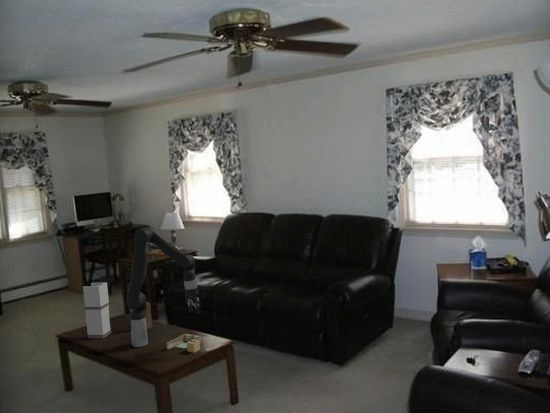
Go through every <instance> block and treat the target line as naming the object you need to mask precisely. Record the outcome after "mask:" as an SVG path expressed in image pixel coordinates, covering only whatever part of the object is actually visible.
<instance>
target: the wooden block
mask: <svg viewBox="0 0 550 413" xmlns="http://www.w3.org/2000/svg"><path fill="white" fill-rule="evenodd" d="M151 309H152V308H151V303H150V302H149V301H146V326H147V330H150V329H152V328H153V322H152V321H153V320H152V312H151V311H152V310H151Z"/></svg>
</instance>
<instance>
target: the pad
mask: <svg viewBox="0 0 550 413" xmlns="http://www.w3.org/2000/svg"><path fill="white" fill-rule="evenodd" d="M174 348H180V349H187V342H185V341H184V342H183V343H181V344H179V345H177V346H175V347H174Z"/></svg>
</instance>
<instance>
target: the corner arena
mask: <svg viewBox="0 0 550 413" xmlns="http://www.w3.org/2000/svg"><path fill="white" fill-rule="evenodd" d="M192 339H193V340H199V341H200V344H201V343H202V337H201V335H194V334H188V333H183V334H181V335H179V336H178V337H176V338H174V339H171V340H169V341H167V342H166V343H165V344H166V345H165V346H166V350H171V349H173V348H176V347H175V346H177V345H179V344H181V343H183V342H184V343H185V342H189V341H190V340H192Z"/></svg>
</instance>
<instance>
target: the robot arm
mask: <svg viewBox="0 0 550 413" xmlns="http://www.w3.org/2000/svg"><path fill="white" fill-rule="evenodd" d="M147 243H149V244H152V245H154V246H155V247H157V248H158V249H159V250H160V251H161V253H163V254H164V255H165V256H167V257H169V258H170V259H172V260H174V261H175V262H176V264H178V265H179V266H180V267H183V268H184V271H183V274H182V275H183V281H184V284H183V285H184V291H185V301H186V302H185V303H186V306H188V310H189V313H193V312H194V308H195V314H196V315H200V314H201V312H200V311H201V310H200V308H201V307H202V306H201V299H200V297H197V295H198V294H199V288H198V283H197V279H196V277H197V276H196V261H195V260H196V259H195V257H194V255H192V254H189V253H188V254H184V253H182V250H180V249H179V247H177V246H175V245H173V244H171V243H170V242H168V241H167V240H165V239H164V238H162V237H161V236H160V235H158V234H157V233H156V232H155V231H154V230H152V229H151V228H150V227H148V226H145V227H141V228H138V229H137V230H135V232H134V235H133V252H132V253H133V254H132V263H131V268H130V270H131V271H130V272H131V273H130V280H129V286H128V291H127V296H126V306H127V307H128V309H130V310H132V312H131V313H130V317H129V318H130V327H131V330H130V339H131V346H132V347H134V348H141V347H145V346H147V345H148V344H149V341H148V339H149V338H148V329H147V326H146V302H147V299H146V295H145V294H144V293H143V292H142V291H141V287H142V285H143V284H144V281H145V278H146V276H147V271H148V260H147V257H146V256H147V254H146V248H147Z"/></svg>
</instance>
